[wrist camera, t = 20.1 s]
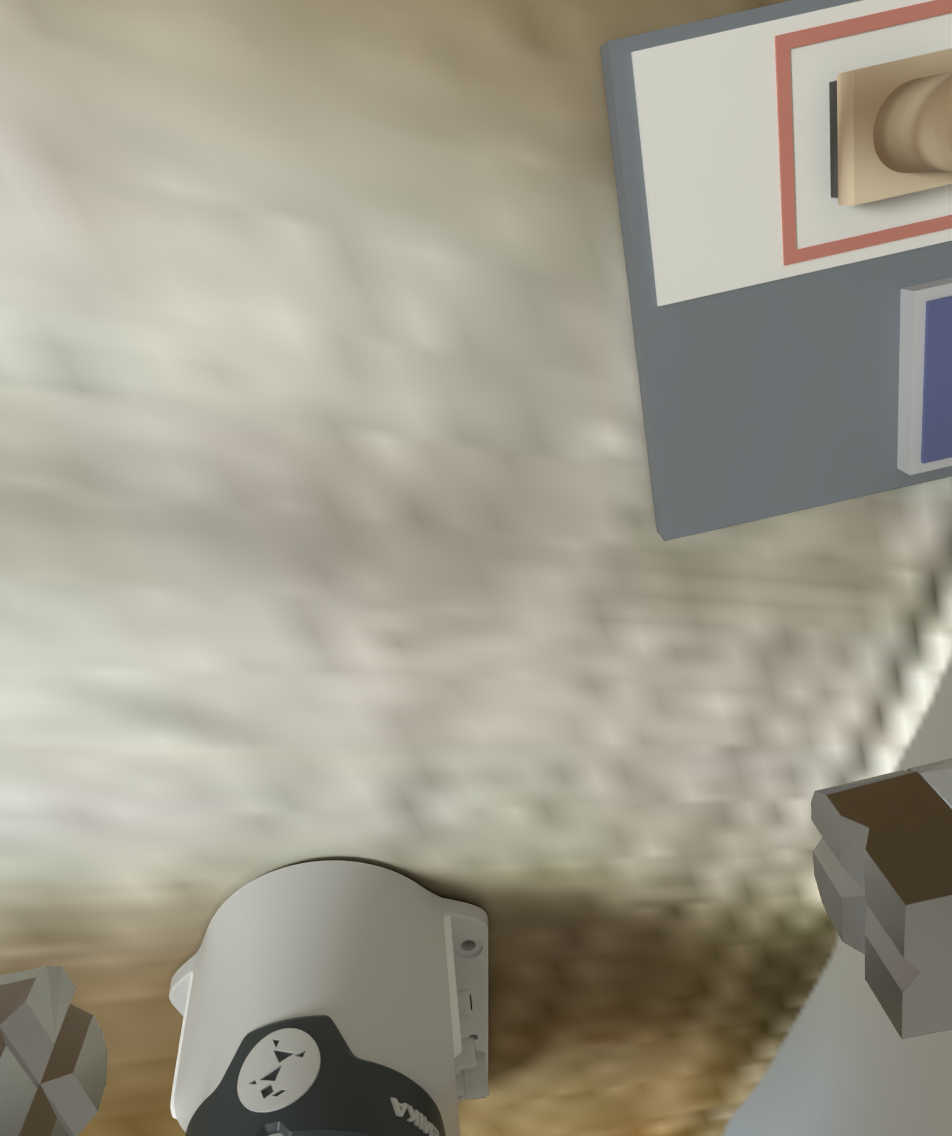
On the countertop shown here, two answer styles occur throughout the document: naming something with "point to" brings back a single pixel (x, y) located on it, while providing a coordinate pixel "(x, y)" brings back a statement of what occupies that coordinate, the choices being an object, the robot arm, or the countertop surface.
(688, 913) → the countertop surface
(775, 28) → the stamping board
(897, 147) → the stamp
